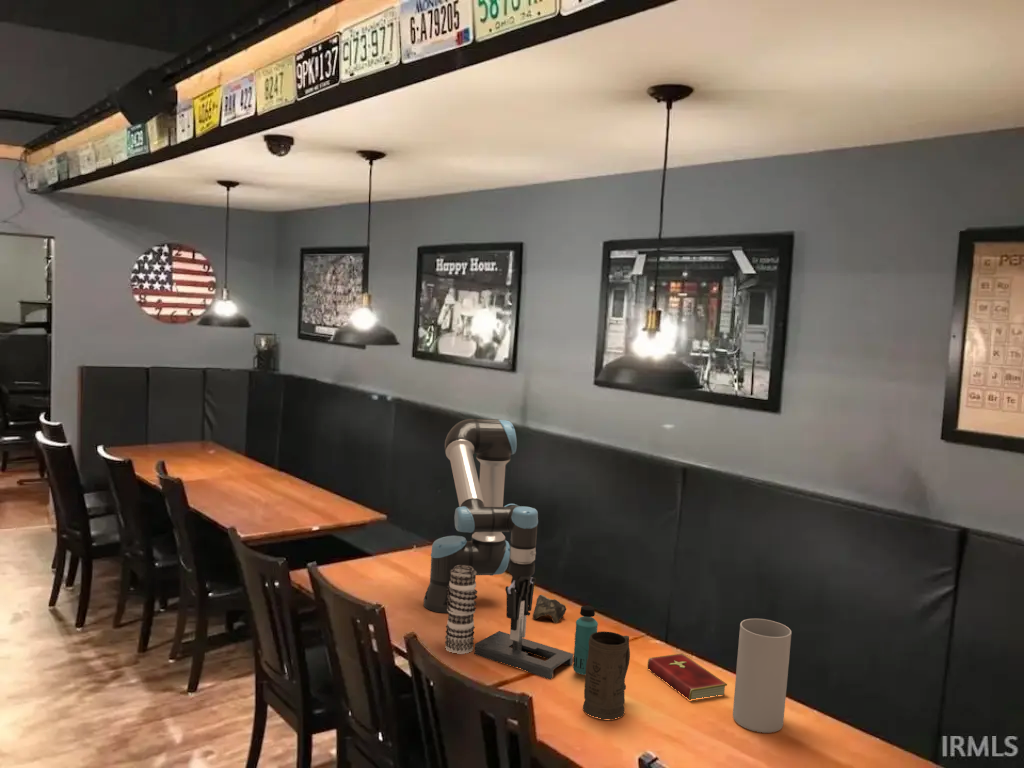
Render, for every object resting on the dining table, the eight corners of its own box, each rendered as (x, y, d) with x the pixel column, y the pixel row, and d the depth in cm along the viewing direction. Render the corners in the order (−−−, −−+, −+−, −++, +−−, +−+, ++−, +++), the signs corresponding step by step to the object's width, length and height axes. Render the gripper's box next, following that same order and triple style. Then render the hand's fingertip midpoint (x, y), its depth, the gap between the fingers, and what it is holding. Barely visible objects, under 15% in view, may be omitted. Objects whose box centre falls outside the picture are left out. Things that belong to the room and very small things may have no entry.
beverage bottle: (597, 673, 234) (602, 605, 233) (591, 682, 228) (596, 612, 226) (575, 668, 236) (579, 601, 235) (569, 677, 230) (573, 608, 228)
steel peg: (504, 656, 241) (507, 600, 240) (514, 651, 246) (517, 595, 244) (519, 661, 238) (522, 604, 237) (528, 655, 243) (532, 600, 241)
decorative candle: (437, 647, 246) (441, 566, 243) (459, 639, 252) (464, 560, 250) (458, 657, 239) (462, 574, 237) (480, 649, 246) (485, 568, 244)
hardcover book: (689, 704, 220) (690, 688, 219) (647, 671, 239) (648, 657, 238) (726, 697, 224) (727, 683, 224) (681, 666, 243) (682, 652, 243)
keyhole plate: (474, 654, 242) (474, 643, 242) (498, 640, 253) (499, 630, 253) (550, 679, 228) (550, 668, 228) (572, 664, 239) (573, 653, 239)
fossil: (567, 611, 280) (568, 591, 275) (563, 633, 273) (565, 612, 267) (535, 607, 282) (536, 587, 276) (531, 628, 274) (532, 607, 269)
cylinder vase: (754, 737, 202) (762, 639, 200) (722, 714, 214) (730, 621, 212) (793, 730, 207) (802, 634, 205) (760, 707, 219) (768, 616, 217)
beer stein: (612, 726, 204) (620, 647, 203) (574, 713, 209) (581, 636, 209) (636, 707, 217) (644, 633, 216) (600, 695, 222) (607, 623, 222)
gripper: (518, 569, 231) (513, 649, 233) (547, 557, 244) (542, 633, 246) (496, 563, 235) (492, 642, 237) (525, 551, 248) (521, 627, 250)
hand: (517, 637), depth 242 cm, fingers closed on steel peg, 3 cm apart
